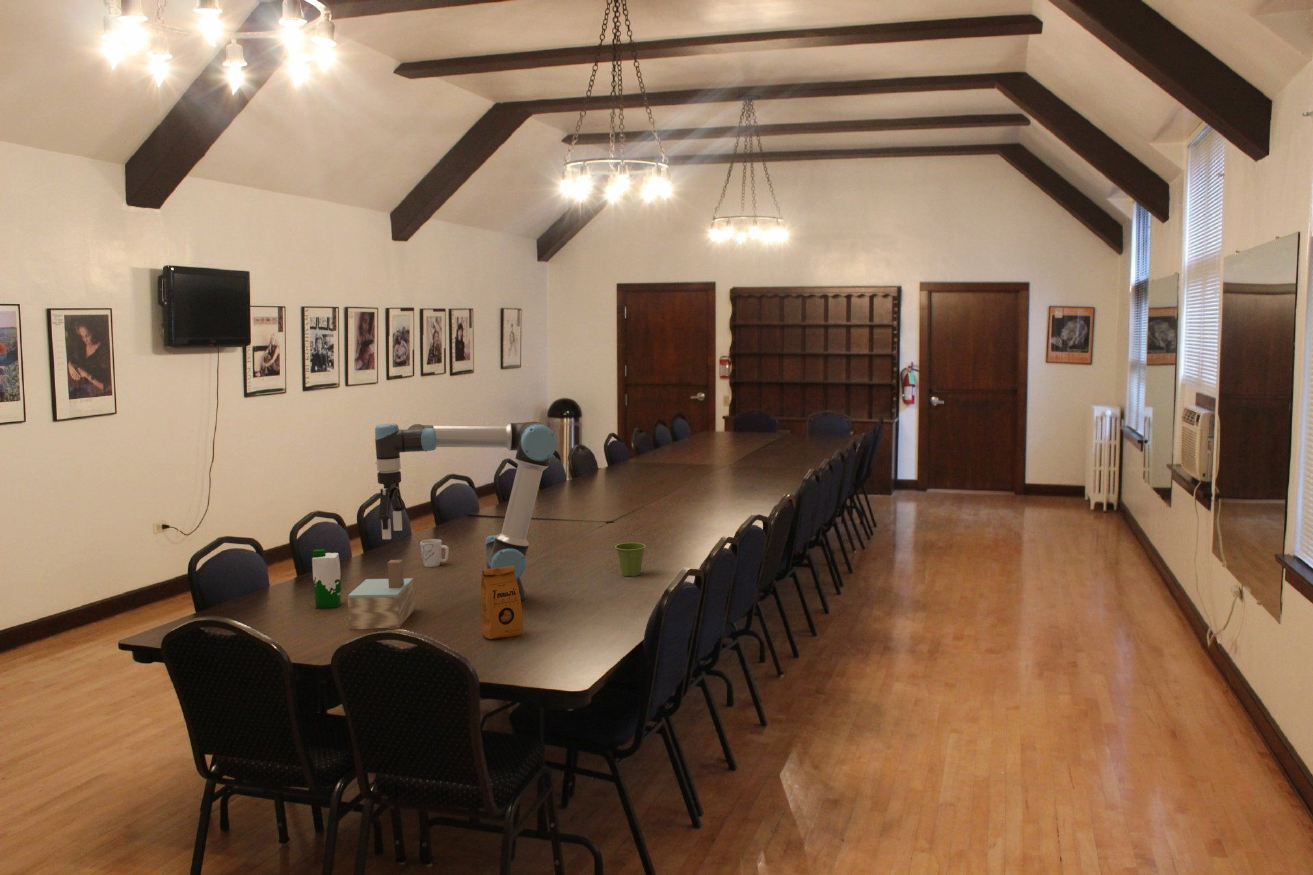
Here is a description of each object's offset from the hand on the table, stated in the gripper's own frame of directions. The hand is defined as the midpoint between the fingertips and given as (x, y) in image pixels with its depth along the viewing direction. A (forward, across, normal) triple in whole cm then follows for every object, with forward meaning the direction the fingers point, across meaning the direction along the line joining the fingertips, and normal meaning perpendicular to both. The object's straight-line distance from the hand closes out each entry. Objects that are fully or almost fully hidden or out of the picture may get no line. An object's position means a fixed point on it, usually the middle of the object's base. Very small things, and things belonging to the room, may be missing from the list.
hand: (392, 534), depth 346 cm
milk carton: (+28, -17, -29) cm, 44 cm away
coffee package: (+29, +21, +39) cm, 53 cm away
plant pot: (+29, -56, +76) cm, 98 cm away
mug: (+29, -75, -5) cm, 81 cm away
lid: (+18, +1, -5) cm, 19 cm away
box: (+28, +1, -5) cm, 29 cm away
